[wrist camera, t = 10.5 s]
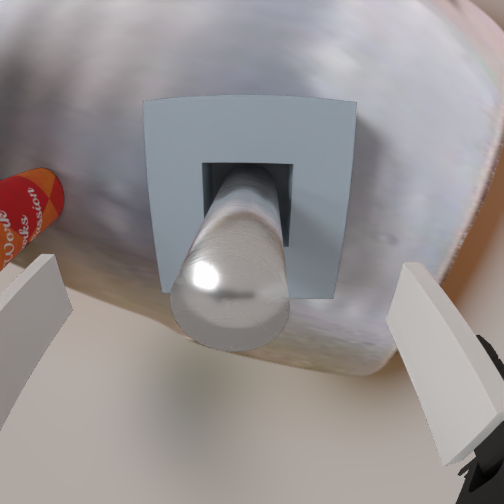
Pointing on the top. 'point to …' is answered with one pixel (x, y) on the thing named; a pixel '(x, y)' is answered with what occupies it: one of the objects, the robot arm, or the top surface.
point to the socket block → (257, 153)
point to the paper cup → (27, 209)
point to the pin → (235, 268)
